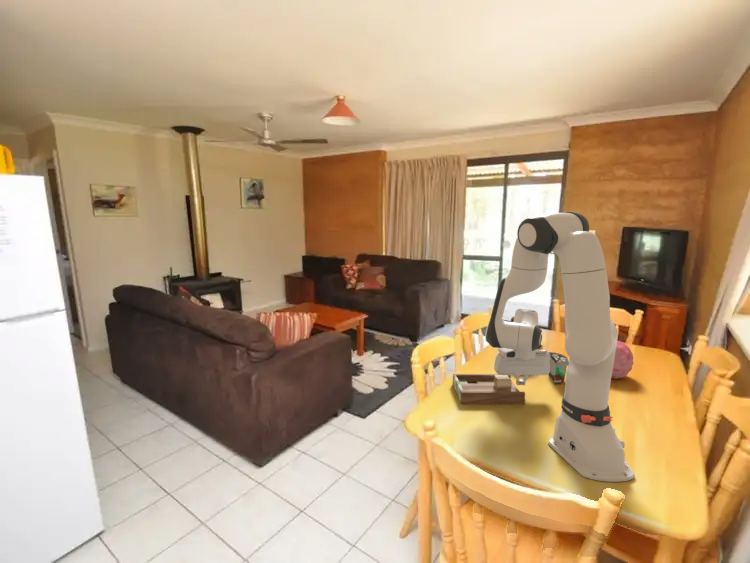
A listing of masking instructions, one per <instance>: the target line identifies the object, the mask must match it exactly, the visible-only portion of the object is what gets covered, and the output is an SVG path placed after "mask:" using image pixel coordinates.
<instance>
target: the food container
mask: <svg viewBox="0 0 750 563" xmlns="http://www.w3.org/2000/svg"><path fill="white" fill-rule="evenodd" d="M548 352H549V353H550V355H551V357H550V361H549V362H550V373H549V374H548V375H547V376H548V377H549V378H550V380H551V382H552V383H553V384H554V385H561V384H564V383H565V380H566V373H567V369H568V365H569V360H570V359H569V358H568V357H567V356H566V355H564V354H562V353H558V352H554V351H548Z"/></svg>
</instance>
